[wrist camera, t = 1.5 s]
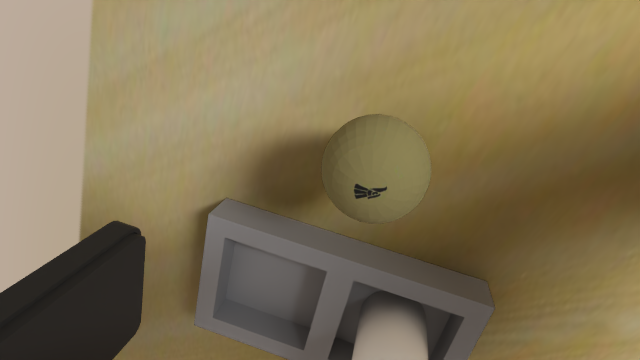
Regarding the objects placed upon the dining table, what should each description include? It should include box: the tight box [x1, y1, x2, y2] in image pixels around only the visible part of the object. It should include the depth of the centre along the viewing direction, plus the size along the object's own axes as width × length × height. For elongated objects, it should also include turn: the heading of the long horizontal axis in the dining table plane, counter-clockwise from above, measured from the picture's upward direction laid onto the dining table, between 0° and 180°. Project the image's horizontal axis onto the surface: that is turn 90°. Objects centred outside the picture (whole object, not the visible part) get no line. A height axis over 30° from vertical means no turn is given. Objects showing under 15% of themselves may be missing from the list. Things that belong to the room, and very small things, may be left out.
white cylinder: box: [352, 290, 428, 360], centre depth 27 cm, size 5×5×8 cm
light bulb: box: [321, 114, 431, 224], centre depth 22 cm, size 6×6×10 cm
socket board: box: [194, 198, 495, 360], centre depth 30 cm, size 21×11×3 cm, turn 76°
